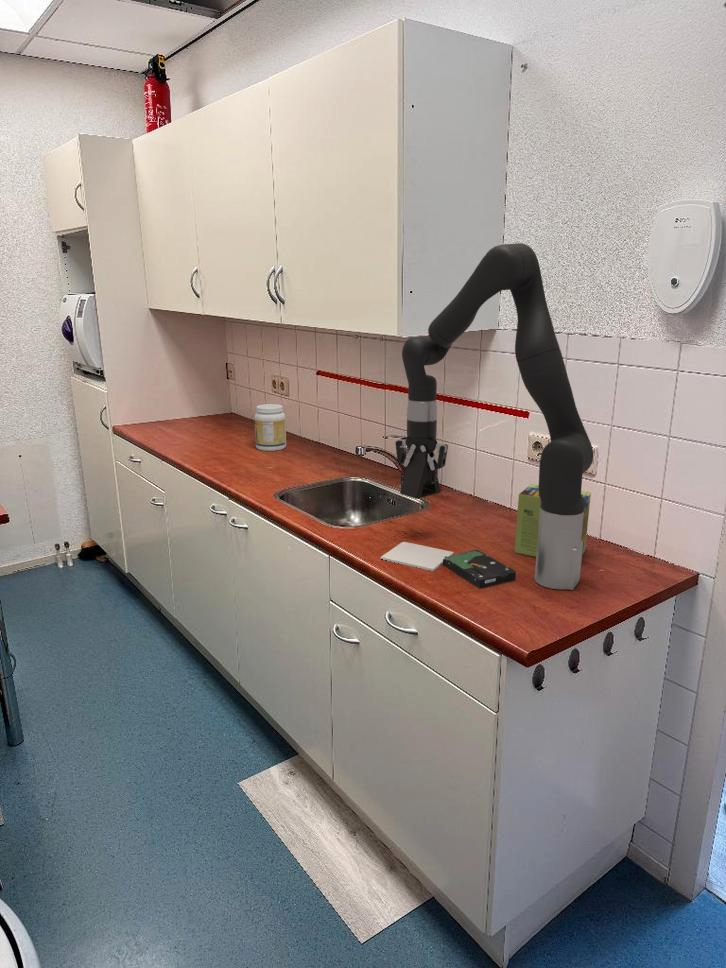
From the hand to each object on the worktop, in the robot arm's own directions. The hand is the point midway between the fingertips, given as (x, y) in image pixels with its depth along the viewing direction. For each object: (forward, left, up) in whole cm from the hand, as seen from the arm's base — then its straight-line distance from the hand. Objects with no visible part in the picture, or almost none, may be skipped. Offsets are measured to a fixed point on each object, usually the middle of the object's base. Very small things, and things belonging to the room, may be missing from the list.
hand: (420, 481), depth 178 cm
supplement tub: (+94, -59, -15) cm, 112 cm away
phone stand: (0, 0, -3) cm, 3 cm away
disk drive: (-22, +14, -16) cm, 31 cm away
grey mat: (-6, +13, -15) cm, 21 cm away
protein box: (-33, -7, -15) cm, 37 cm away
